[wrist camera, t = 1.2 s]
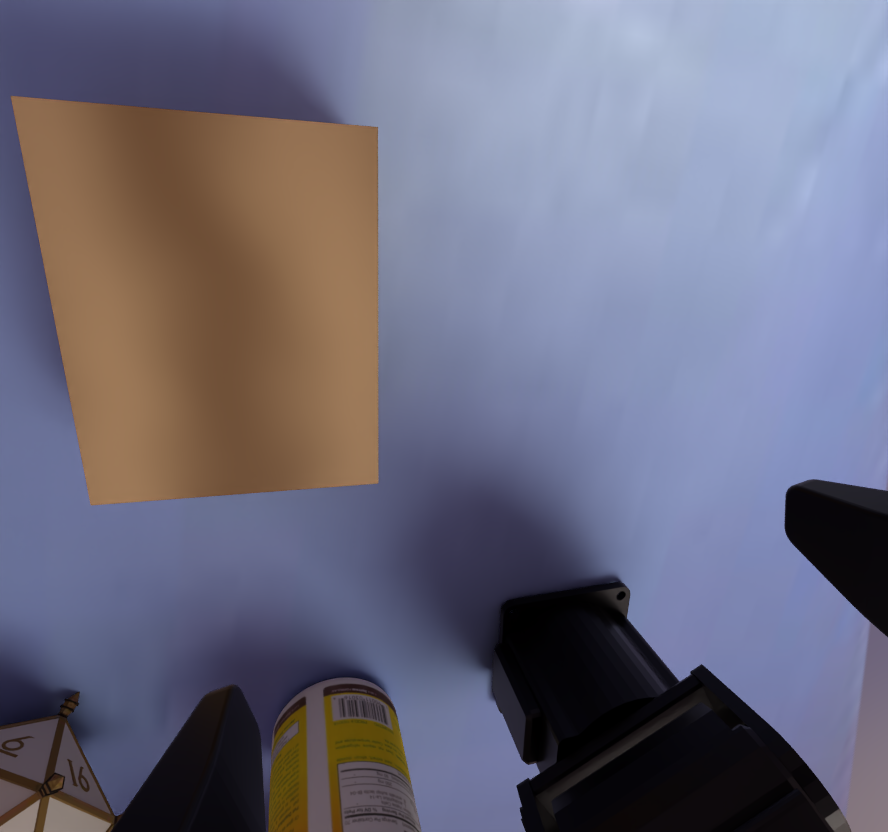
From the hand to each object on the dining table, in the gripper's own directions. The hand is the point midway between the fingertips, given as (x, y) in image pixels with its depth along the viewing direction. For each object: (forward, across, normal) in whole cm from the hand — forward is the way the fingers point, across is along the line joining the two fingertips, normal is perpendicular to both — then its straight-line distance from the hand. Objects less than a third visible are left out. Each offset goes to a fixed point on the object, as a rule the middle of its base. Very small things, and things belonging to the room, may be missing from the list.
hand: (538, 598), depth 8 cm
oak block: (+14, +4, -4) cm, 15 cm away
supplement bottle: (+14, +7, +15) cm, 21 cm away
